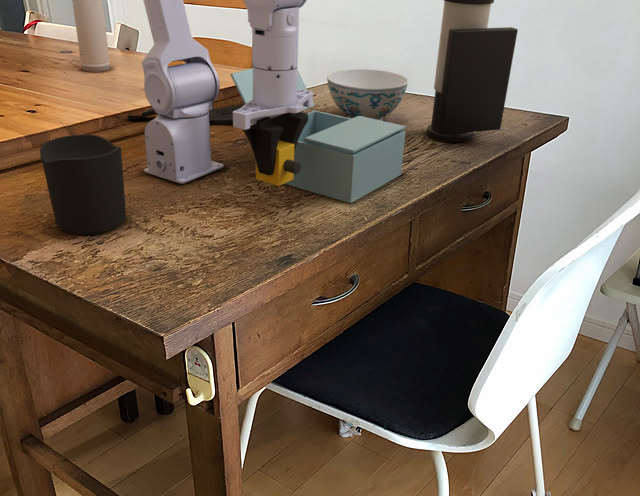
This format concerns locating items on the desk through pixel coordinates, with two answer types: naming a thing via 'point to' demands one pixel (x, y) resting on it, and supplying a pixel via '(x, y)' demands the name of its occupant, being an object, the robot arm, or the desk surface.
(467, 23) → the light fixture
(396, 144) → the case
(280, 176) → the yellow block with knob
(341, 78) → the chinaware
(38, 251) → the desk surface
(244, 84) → the flap
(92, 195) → the pen holder
